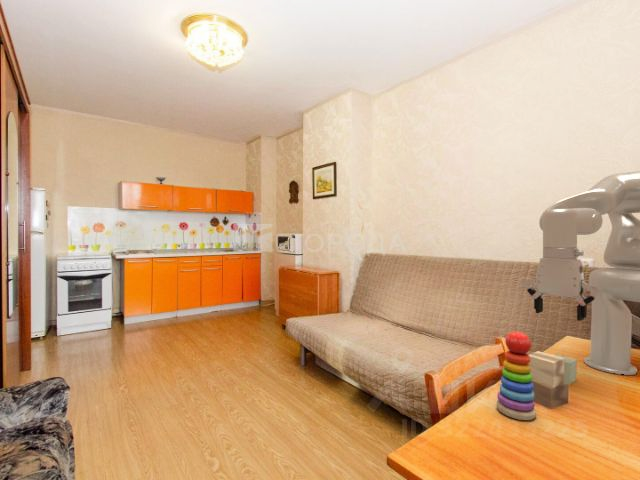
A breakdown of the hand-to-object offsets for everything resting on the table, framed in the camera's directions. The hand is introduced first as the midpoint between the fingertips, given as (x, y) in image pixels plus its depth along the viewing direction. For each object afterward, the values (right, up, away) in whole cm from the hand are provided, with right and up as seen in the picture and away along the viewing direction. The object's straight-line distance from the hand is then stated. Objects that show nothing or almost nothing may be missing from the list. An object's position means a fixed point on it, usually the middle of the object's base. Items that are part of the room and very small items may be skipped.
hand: (559, 315), depth 89 cm
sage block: (+5, -20, +5) cm, 21 cm away
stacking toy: (-20, -20, -14) cm, 31 cm away
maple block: (-9, -15, -7) cm, 19 cm away
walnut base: (-9, -20, -7) cm, 23 cm away
